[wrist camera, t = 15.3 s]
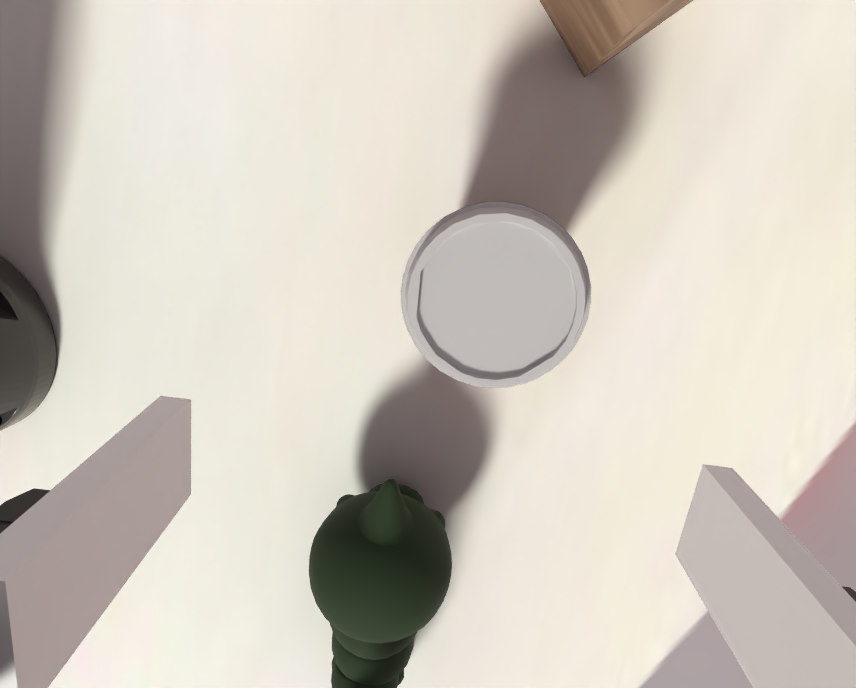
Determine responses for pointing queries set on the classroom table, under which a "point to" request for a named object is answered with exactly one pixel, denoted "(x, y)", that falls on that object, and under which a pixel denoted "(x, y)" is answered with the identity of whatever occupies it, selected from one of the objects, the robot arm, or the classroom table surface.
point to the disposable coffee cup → (495, 294)
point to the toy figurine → (378, 581)
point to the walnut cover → (605, 25)
